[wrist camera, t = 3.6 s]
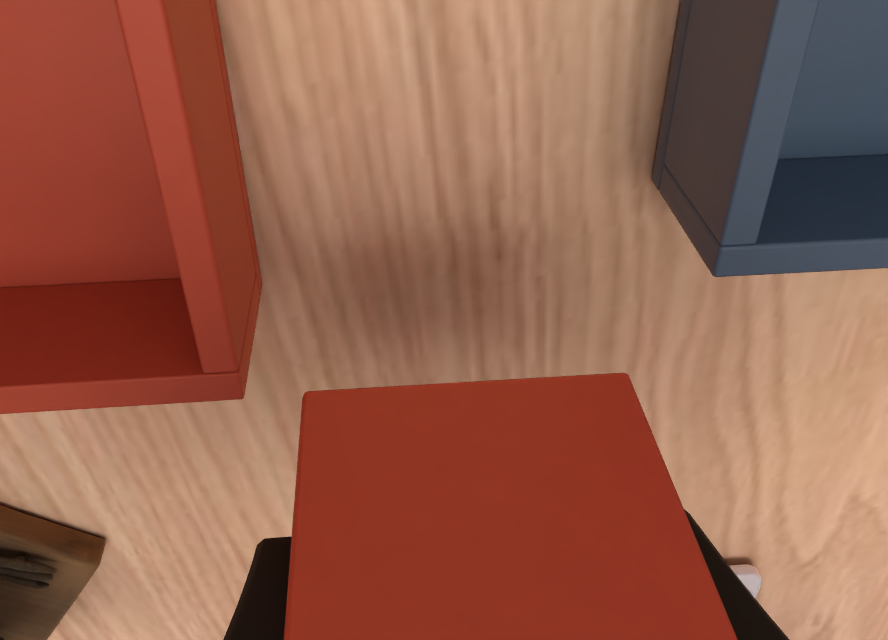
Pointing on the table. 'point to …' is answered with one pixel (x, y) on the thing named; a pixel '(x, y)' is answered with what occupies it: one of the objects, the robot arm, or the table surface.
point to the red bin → (121, 208)
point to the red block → (491, 517)
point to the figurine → (41, 573)
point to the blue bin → (778, 134)
